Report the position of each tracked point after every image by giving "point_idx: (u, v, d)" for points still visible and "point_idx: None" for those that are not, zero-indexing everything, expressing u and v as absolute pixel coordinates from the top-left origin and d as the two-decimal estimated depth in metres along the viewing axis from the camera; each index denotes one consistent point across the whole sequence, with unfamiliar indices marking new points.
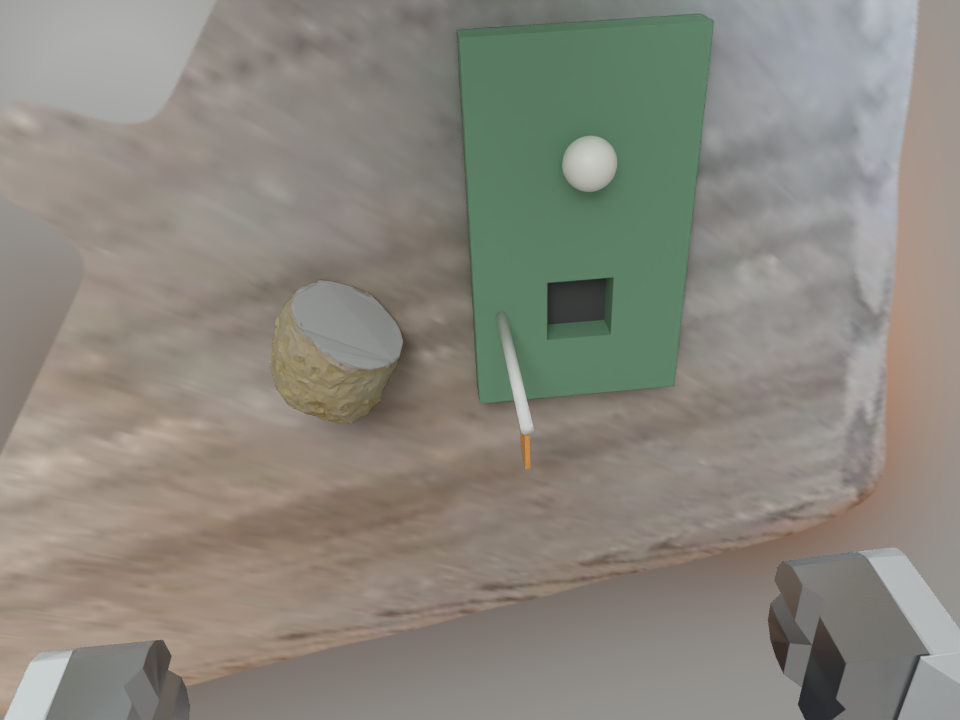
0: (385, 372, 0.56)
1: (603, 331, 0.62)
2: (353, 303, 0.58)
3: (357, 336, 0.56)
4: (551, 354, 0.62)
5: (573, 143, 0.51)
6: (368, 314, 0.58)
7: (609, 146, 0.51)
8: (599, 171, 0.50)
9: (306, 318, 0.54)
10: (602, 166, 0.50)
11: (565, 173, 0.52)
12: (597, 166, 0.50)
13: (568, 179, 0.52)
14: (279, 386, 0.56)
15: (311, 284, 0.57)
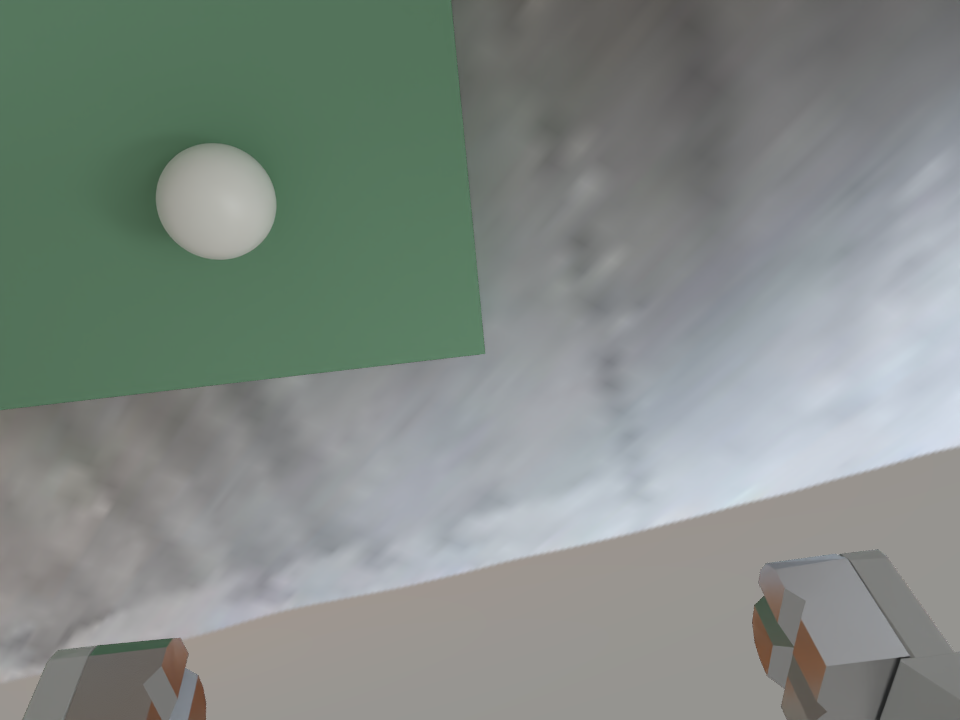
0: None
1: None
2: None
3: None
4: None
5: (254, 163, 0.24)
6: None
7: (263, 238, 0.25)
8: (211, 232, 0.24)
9: None
10: (223, 236, 0.24)
11: (187, 155, 0.24)
12: (221, 227, 0.23)
13: (175, 165, 0.23)
14: None
15: None
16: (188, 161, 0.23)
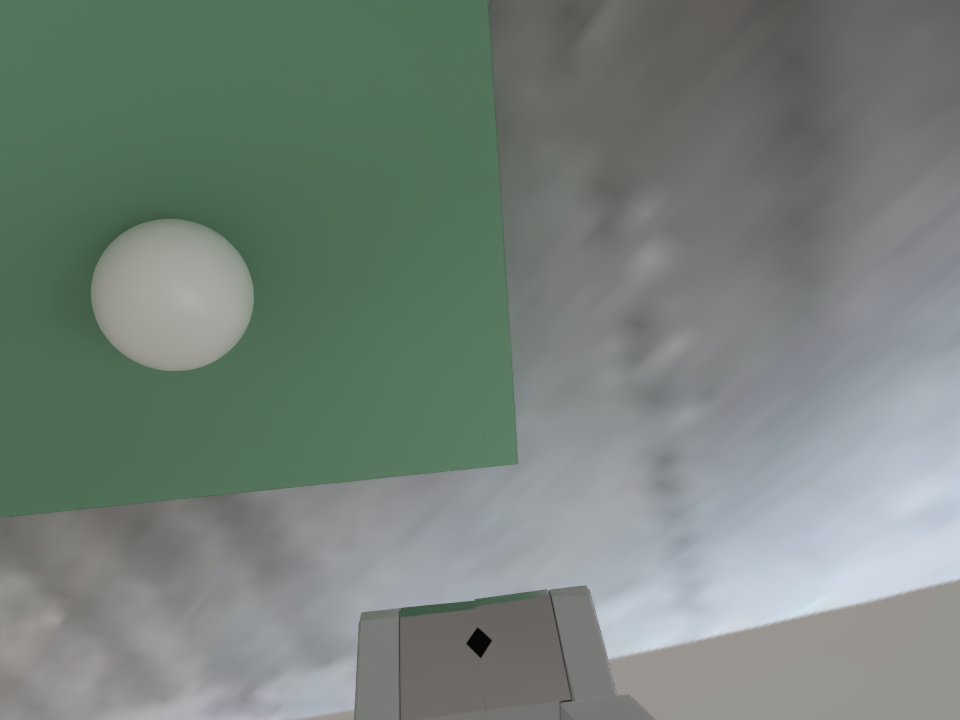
0: None
1: None
2: None
3: None
4: None
5: (224, 246, 0.18)
6: None
7: (235, 342, 0.19)
8: (162, 344, 0.17)
9: None
10: (179, 348, 0.18)
11: (131, 239, 0.17)
12: (176, 337, 0.17)
13: (115, 253, 0.17)
14: None
15: None
16: (132, 248, 0.17)
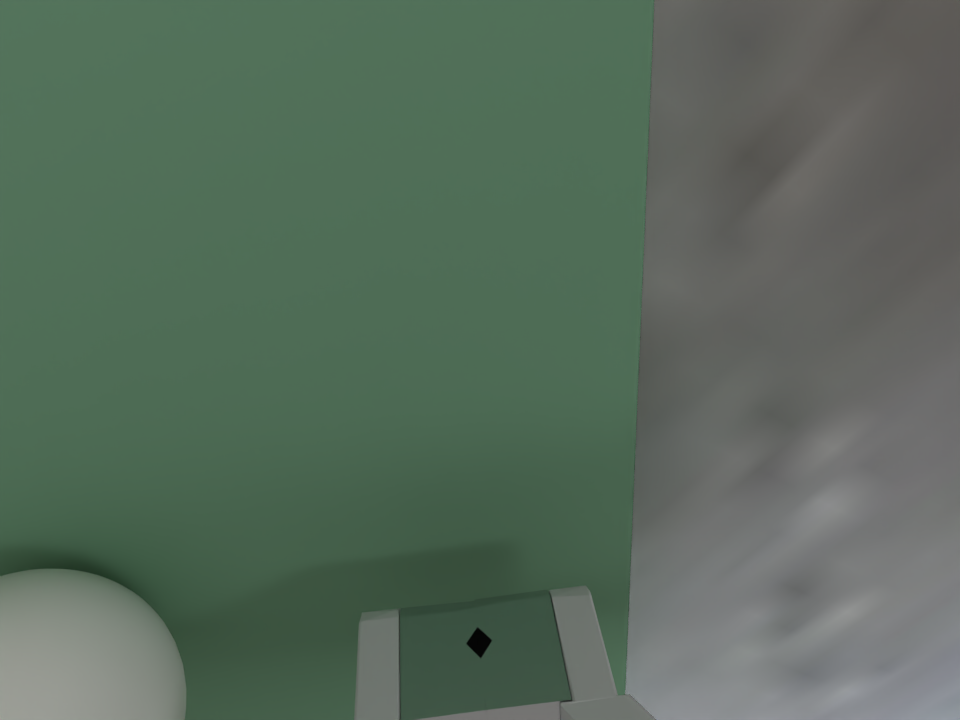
0: None
1: None
2: None
3: None
4: None
5: (120, 643, 0.09)
6: None
7: None
8: None
9: None
10: None
11: None
12: None
13: None
14: None
15: None
16: None
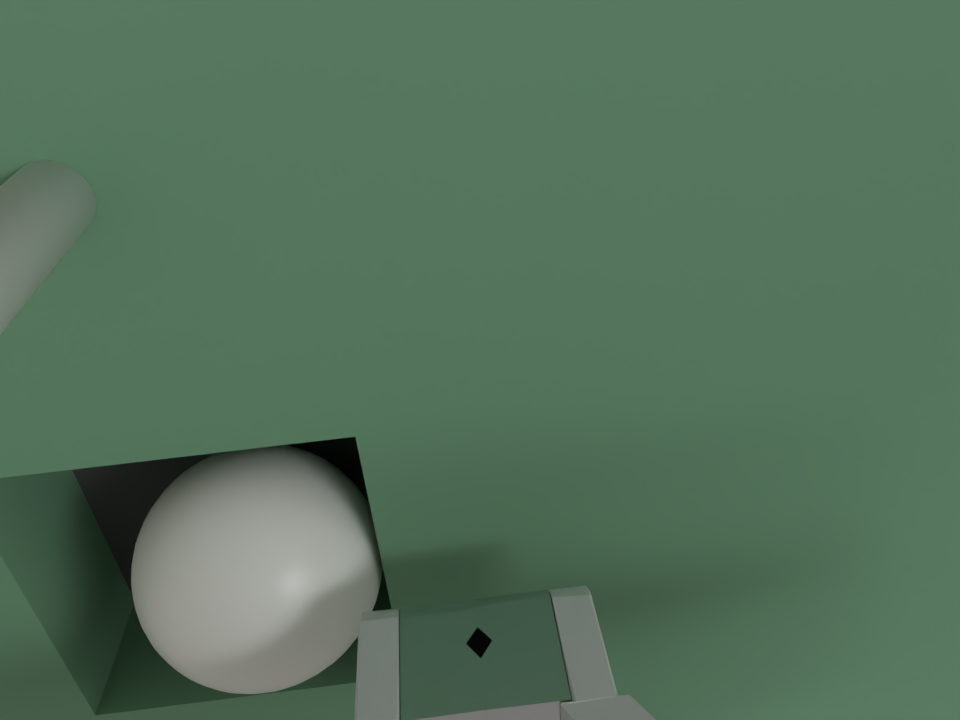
0: None
1: (98, 666, 0.13)
2: None
3: None
4: None
5: (337, 522, 0.11)
6: None
7: None
8: (207, 677, 0.11)
9: None
10: (233, 686, 0.11)
11: (194, 497, 0.11)
12: (227, 674, 0.10)
13: (167, 514, 0.11)
14: None
15: None
16: (189, 517, 0.10)
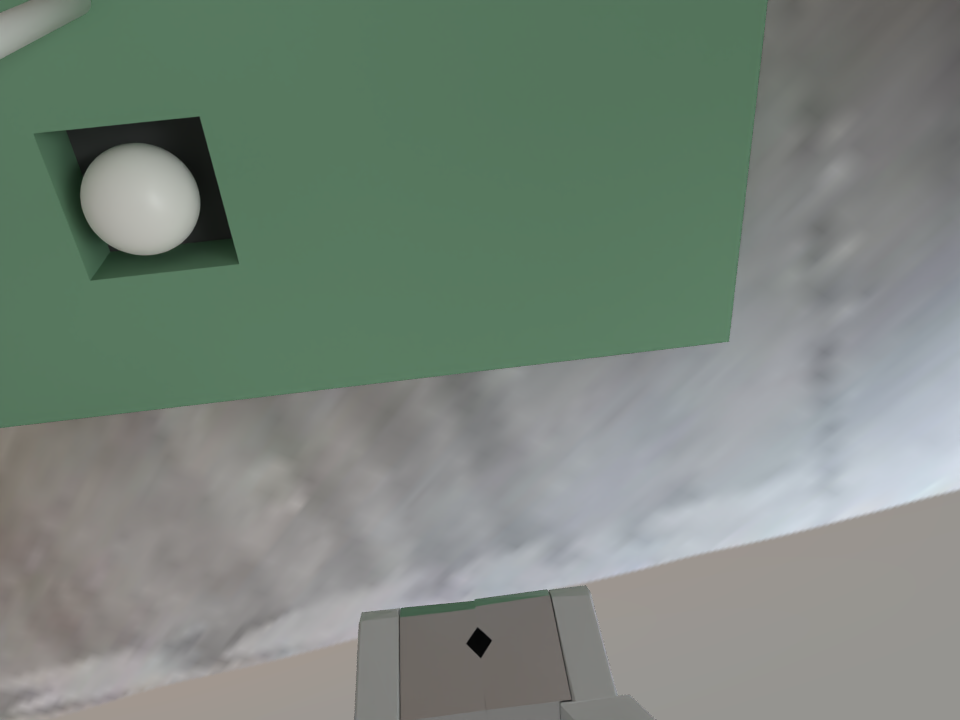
0: None
1: (91, 261, 0.27)
2: None
3: None
4: None
5: (156, 174, 0.24)
6: None
7: (156, 246, 0.25)
8: (94, 227, 0.25)
9: None
10: (103, 234, 0.25)
11: (106, 151, 0.25)
12: (98, 225, 0.25)
13: None
14: None
15: None
16: (100, 156, 0.25)
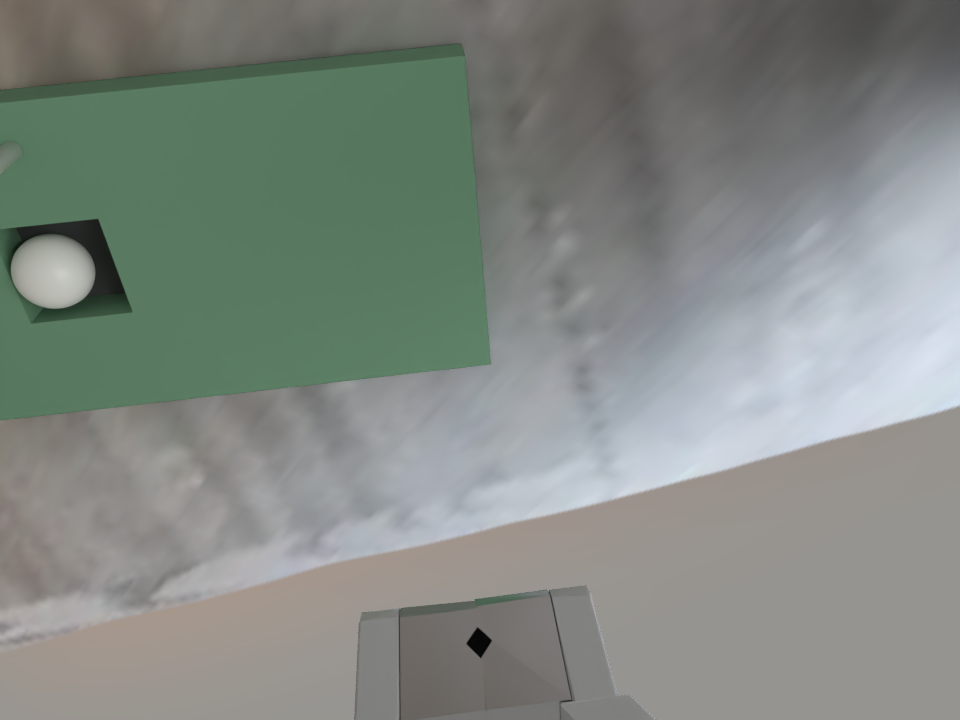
0: None
1: (31, 310, 0.39)
2: None
3: None
4: None
5: (51, 260, 0.36)
6: None
7: (54, 305, 0.38)
8: None
9: None
10: (21, 293, 0.37)
11: (29, 239, 0.37)
12: (17, 288, 0.37)
13: None
14: None
15: None
16: (24, 243, 0.37)
